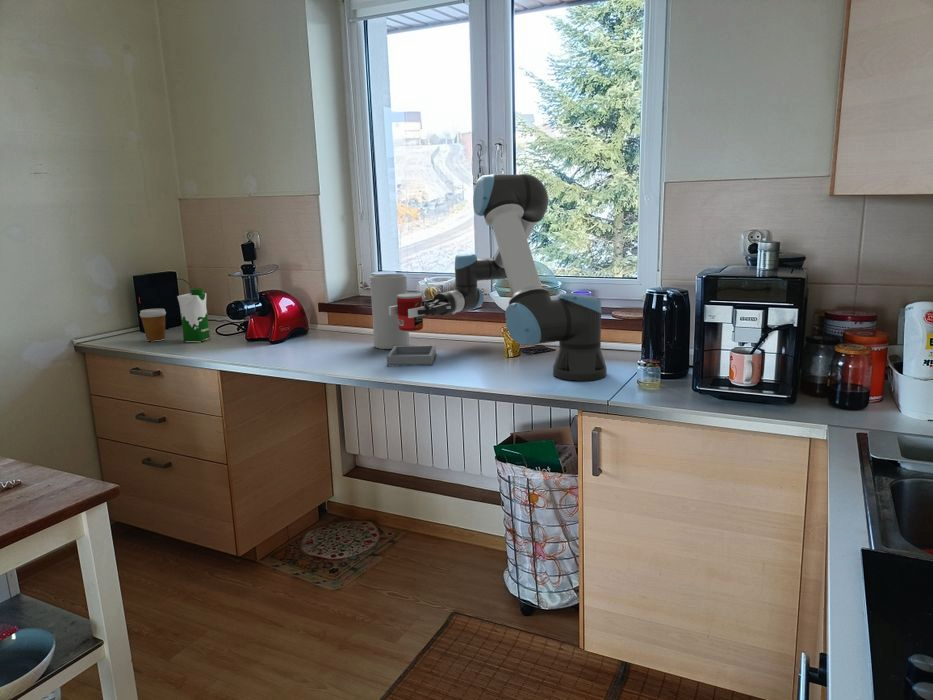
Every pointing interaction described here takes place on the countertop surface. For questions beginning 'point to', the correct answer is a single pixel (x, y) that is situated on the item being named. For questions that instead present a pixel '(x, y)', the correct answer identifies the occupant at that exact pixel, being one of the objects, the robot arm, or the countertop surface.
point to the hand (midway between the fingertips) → (399, 312)
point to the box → (411, 355)
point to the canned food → (403, 305)
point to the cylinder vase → (387, 310)
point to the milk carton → (194, 315)
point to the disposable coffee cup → (153, 323)
